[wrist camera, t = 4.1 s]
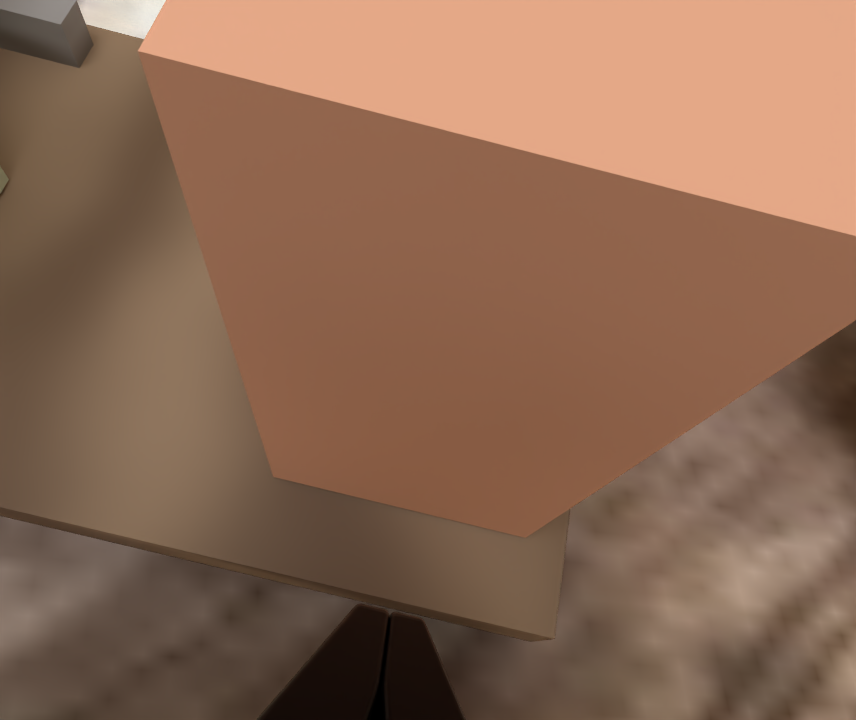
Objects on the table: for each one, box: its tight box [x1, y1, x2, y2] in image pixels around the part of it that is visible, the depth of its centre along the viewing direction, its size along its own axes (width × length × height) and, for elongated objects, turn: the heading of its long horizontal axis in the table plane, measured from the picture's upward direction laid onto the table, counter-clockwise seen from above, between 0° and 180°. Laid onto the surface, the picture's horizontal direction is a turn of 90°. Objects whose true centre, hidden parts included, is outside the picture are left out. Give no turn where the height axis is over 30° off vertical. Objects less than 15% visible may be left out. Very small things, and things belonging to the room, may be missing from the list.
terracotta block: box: [138, 0, 856, 538], centre depth 12 cm, size 6×6×12 cm
